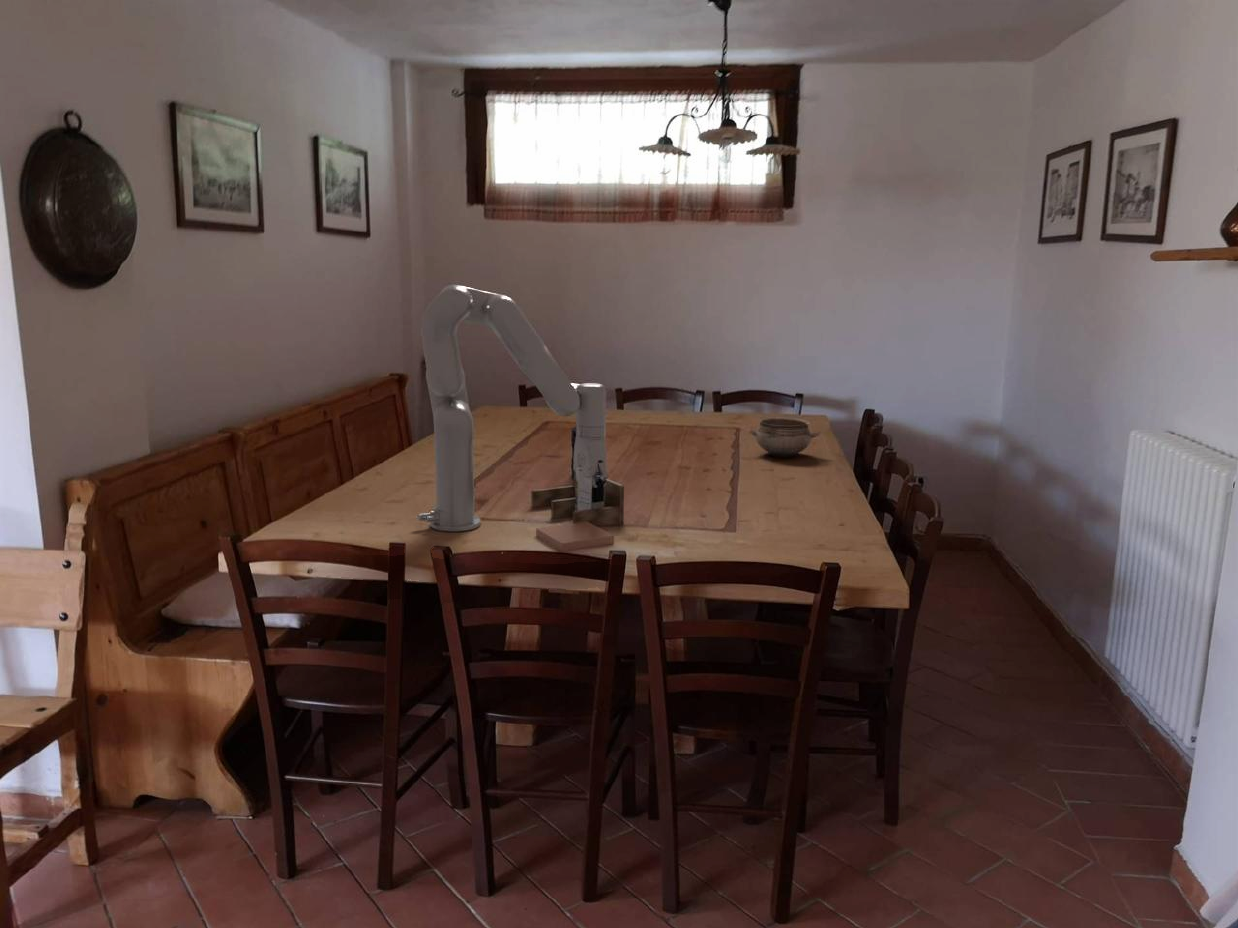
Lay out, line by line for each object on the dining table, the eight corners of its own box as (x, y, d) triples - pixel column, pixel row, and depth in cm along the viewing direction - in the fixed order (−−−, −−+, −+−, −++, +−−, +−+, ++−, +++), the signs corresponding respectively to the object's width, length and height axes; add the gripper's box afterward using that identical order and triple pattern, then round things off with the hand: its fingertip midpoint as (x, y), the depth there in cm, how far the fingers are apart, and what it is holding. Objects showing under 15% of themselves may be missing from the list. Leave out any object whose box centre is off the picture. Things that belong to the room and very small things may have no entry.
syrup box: (588, 515, 251) (589, 462, 248) (605, 519, 247) (606, 465, 244) (574, 519, 246) (574, 465, 243) (591, 523, 243) (591, 469, 240)
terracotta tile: (562, 551, 220) (562, 543, 219) (536, 536, 231) (536, 528, 231) (613, 543, 227) (614, 535, 226) (586, 528, 238) (586, 521, 238)
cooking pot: (815, 451, 339) (817, 418, 336) (821, 462, 320) (823, 427, 318) (745, 449, 341) (747, 415, 338) (747, 459, 323) (748, 424, 320)
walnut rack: (575, 529, 237) (575, 491, 235) (531, 506, 259) (531, 470, 256) (623, 522, 244) (624, 485, 242) (577, 500, 266) (577, 465, 263)
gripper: (562, 427, 247) (562, 492, 251) (594, 438, 232) (594, 508, 236) (587, 425, 251) (587, 489, 255) (620, 436, 236) (619, 504, 240)
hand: (590, 497), depth 245 cm, fingers closed on syrup box, 7 cm apart
